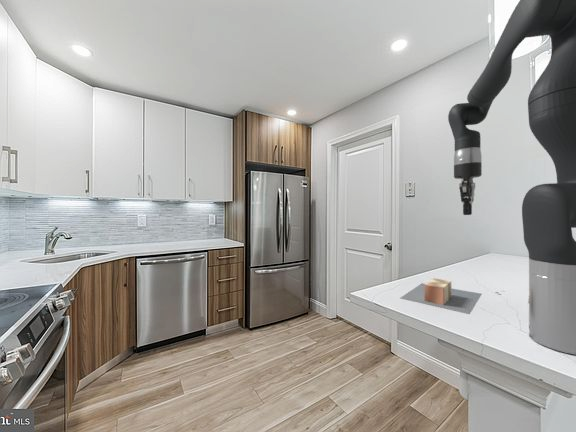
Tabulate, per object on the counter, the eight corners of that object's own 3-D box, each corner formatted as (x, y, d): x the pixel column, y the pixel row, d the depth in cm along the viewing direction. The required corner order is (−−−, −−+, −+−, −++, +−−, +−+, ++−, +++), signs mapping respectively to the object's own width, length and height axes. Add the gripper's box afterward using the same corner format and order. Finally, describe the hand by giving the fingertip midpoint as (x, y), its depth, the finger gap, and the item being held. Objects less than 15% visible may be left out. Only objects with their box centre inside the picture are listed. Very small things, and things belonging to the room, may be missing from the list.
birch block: (451, 281, 78) (443, 288, 71) (451, 296, 78) (443, 305, 71) (433, 278, 82) (424, 284, 75) (433, 293, 82) (424, 301, 75)
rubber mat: (481, 294, 80) (481, 293, 80) (469, 315, 65) (469, 314, 65) (421, 284, 93) (421, 283, 93) (399, 299, 78) (399, 298, 78)
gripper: (478, 158, 75) (479, 215, 75) (483, 164, 84) (483, 214, 85) (449, 162, 80) (450, 215, 80) (457, 167, 89) (457, 214, 90)
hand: (467, 214), depth 82 cm, fingers closed
